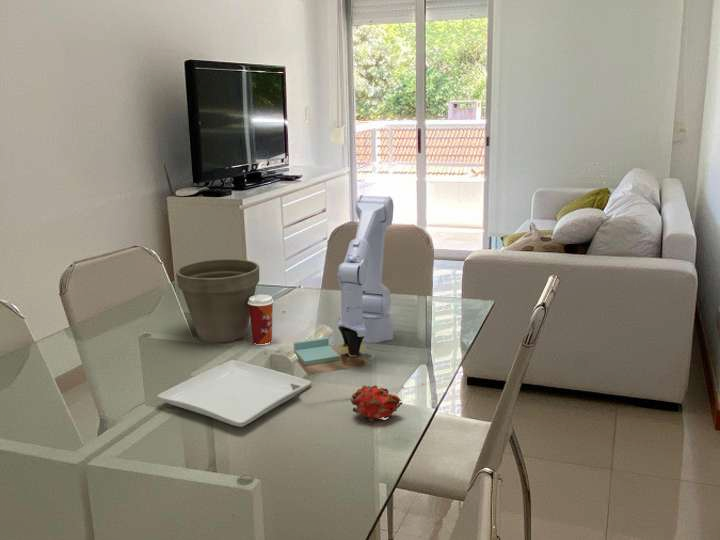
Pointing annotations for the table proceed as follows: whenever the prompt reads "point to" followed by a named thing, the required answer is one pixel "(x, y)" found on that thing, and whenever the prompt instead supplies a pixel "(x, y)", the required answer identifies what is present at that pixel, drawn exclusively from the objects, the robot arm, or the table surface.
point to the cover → (315, 351)
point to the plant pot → (219, 296)
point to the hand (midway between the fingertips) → (352, 353)
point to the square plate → (235, 392)
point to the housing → (335, 363)
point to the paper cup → (261, 318)
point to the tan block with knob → (345, 348)
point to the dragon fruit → (375, 402)
